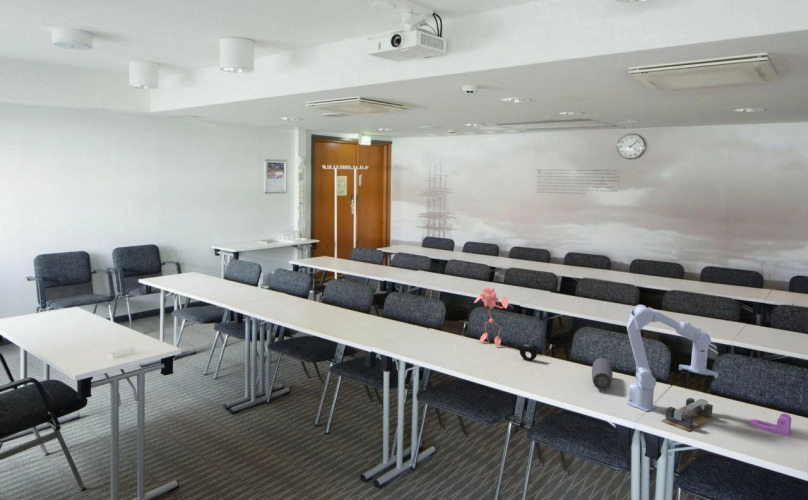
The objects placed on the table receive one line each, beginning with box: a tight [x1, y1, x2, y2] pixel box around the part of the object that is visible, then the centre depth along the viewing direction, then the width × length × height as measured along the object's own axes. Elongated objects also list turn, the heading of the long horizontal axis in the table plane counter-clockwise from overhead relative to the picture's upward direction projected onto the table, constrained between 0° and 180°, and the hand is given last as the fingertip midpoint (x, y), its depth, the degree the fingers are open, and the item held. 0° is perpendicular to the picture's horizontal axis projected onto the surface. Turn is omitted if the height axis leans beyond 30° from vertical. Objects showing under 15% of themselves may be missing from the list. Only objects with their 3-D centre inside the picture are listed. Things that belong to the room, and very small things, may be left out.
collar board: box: [661, 397, 716, 433], centre depth 224 cm, size 11×22×6 cm, turn 126°
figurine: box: [473, 286, 509, 348], centre depth 317 cm, size 15×26×35 cm, turn 40°
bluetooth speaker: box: [591, 357, 614, 391], centre depth 261 cm, size 23×9×10 cm, turn 161°
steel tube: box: [674, 398, 709, 421], centre depth 224 cm, size 3×22×3 cm, turn 126°
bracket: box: [749, 413, 792, 437], centre depth 217 cm, size 13×6×7 cm, turn 46°
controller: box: [515, 342, 539, 362], centre depth 295 cm, size 4×12×10 cm, turn 53°
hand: (696, 389), depth 232 cm, fingers open, 7 cm apart
